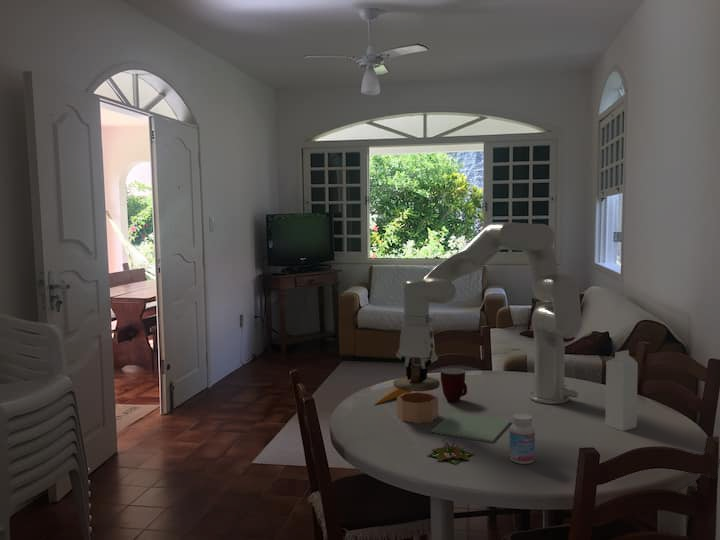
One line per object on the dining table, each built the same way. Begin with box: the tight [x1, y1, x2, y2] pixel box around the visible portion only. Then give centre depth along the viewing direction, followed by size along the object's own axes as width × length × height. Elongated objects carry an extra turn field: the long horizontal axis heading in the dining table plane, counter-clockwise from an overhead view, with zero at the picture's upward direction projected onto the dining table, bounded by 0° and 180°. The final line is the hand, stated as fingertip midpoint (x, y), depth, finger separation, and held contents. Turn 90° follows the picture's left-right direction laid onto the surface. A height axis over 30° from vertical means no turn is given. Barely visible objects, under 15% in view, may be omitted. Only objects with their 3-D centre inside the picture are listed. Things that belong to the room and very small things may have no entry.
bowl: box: [396, 391, 439, 424], centre depth 184 cm, size 12×12×6 cm
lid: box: [393, 363, 441, 392], centre depth 183 cm, size 14×14×6 cm
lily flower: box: [426, 438, 474, 466], centre depth 153 cm, size 12×12×5 cm
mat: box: [430, 411, 512, 443], centre depth 174 cm, size 18×18×1 cm
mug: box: [440, 367, 468, 403], centre depth 199 cm, size 10×8×10 cm
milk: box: [604, 349, 639, 432], centre depth 172 cm, size 6×6×22 cm
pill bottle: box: [509, 413, 536, 465], centre depth 149 cm, size 6×6×11 cm
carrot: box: [373, 387, 412, 406], centre depth 204 cm, size 20×4×4 cm, turn 138°
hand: (416, 379), depth 183 cm, fingers closed on lid, 3 cm apart
